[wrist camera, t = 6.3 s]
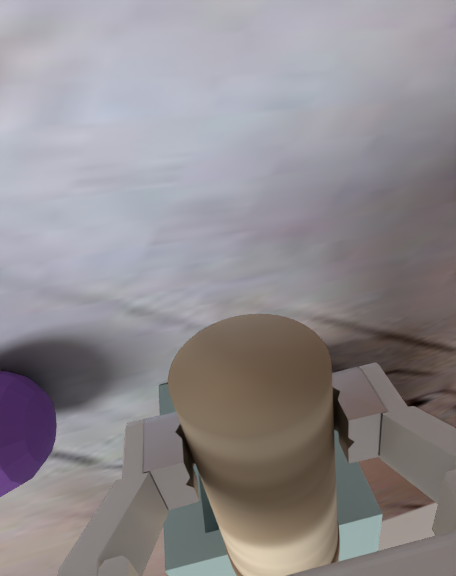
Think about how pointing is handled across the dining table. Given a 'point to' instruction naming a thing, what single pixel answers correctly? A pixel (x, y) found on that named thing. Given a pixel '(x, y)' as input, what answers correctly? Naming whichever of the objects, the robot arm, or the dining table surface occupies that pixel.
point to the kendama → (23, 429)
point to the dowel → (262, 439)
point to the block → (210, 544)
